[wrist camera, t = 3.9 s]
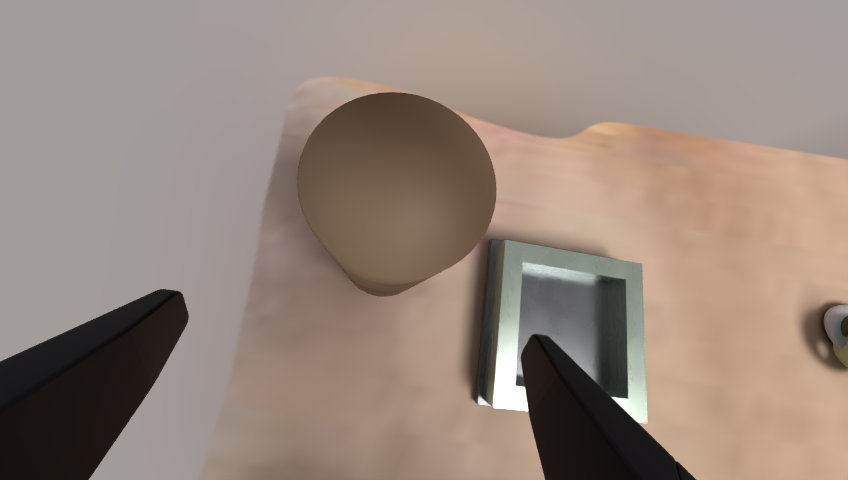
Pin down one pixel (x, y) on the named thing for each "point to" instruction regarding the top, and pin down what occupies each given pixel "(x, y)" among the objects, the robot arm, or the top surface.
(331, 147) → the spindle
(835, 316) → the pacifier
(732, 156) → the top surface
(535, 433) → the robot arm
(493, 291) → the green square tray
